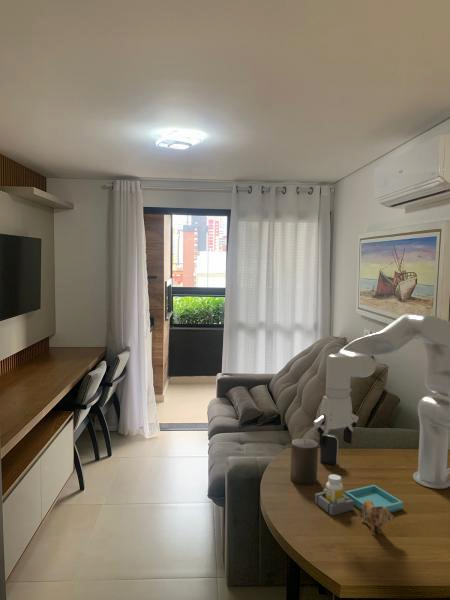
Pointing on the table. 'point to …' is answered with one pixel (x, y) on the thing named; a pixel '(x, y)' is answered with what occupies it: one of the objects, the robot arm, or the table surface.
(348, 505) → the clip holder
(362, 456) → the table surface
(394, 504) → the tray
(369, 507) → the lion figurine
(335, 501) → the supplement bottle
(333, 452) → the battery charger
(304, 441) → the pillar candle
